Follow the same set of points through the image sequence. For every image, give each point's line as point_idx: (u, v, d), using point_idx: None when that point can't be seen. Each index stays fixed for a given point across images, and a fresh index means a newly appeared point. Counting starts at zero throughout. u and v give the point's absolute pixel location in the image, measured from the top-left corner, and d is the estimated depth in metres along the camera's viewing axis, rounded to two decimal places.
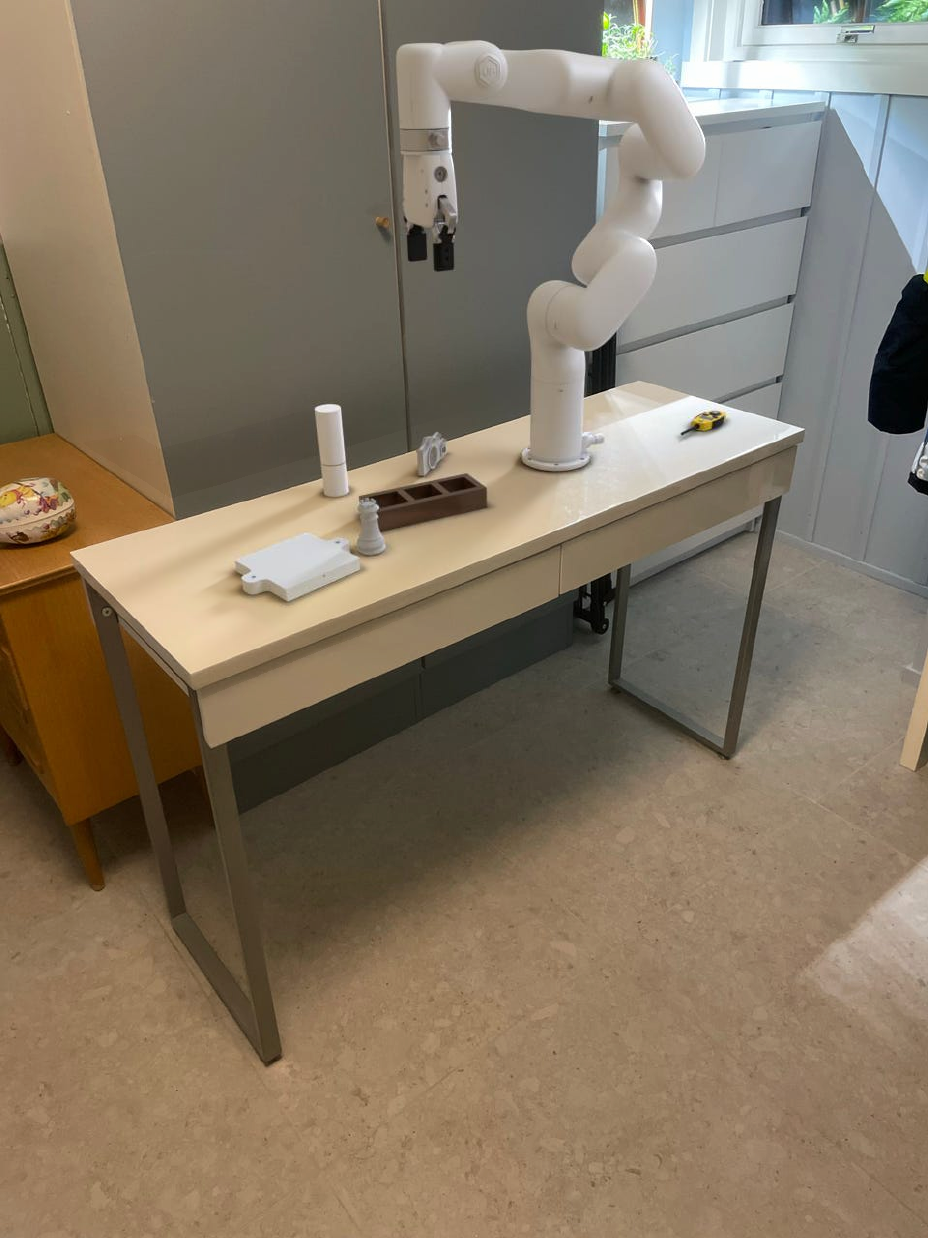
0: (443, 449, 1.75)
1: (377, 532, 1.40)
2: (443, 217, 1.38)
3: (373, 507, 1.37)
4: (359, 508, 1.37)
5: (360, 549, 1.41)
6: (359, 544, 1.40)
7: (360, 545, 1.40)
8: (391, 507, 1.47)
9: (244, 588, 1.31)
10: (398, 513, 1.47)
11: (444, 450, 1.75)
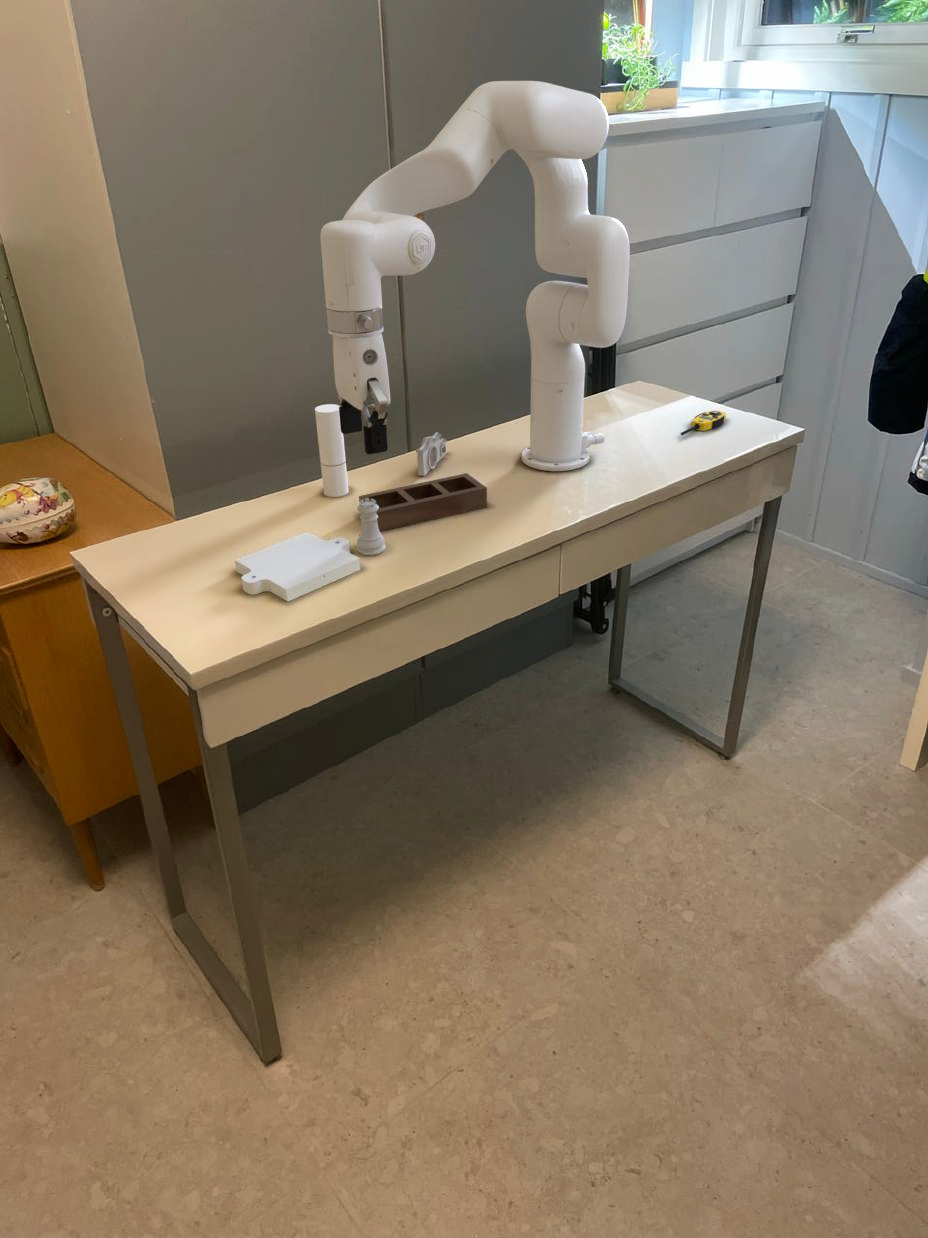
0: (443, 449, 1.75)
1: (377, 532, 1.40)
2: None
3: (373, 507, 1.37)
4: (359, 508, 1.37)
5: (360, 549, 1.41)
6: (359, 544, 1.40)
7: (360, 545, 1.40)
8: (391, 507, 1.47)
9: (244, 588, 1.31)
10: (398, 513, 1.47)
11: (444, 450, 1.75)
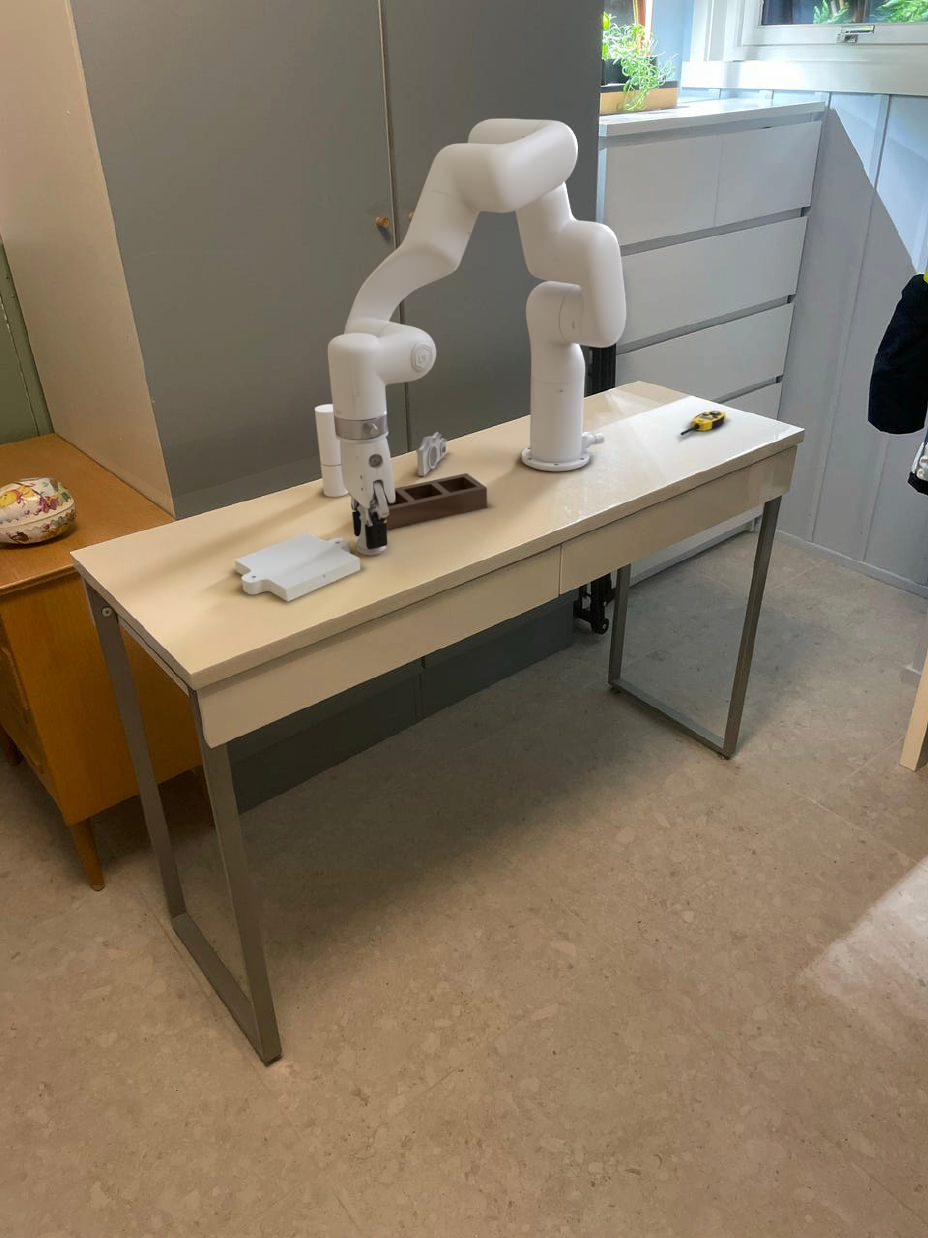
0: (443, 449, 1.75)
1: None
2: None
3: None
4: (359, 508, 1.37)
5: (360, 549, 1.41)
6: (359, 544, 1.40)
7: (360, 545, 1.40)
8: (391, 507, 1.47)
9: (244, 588, 1.31)
10: (398, 513, 1.47)
11: (444, 450, 1.75)
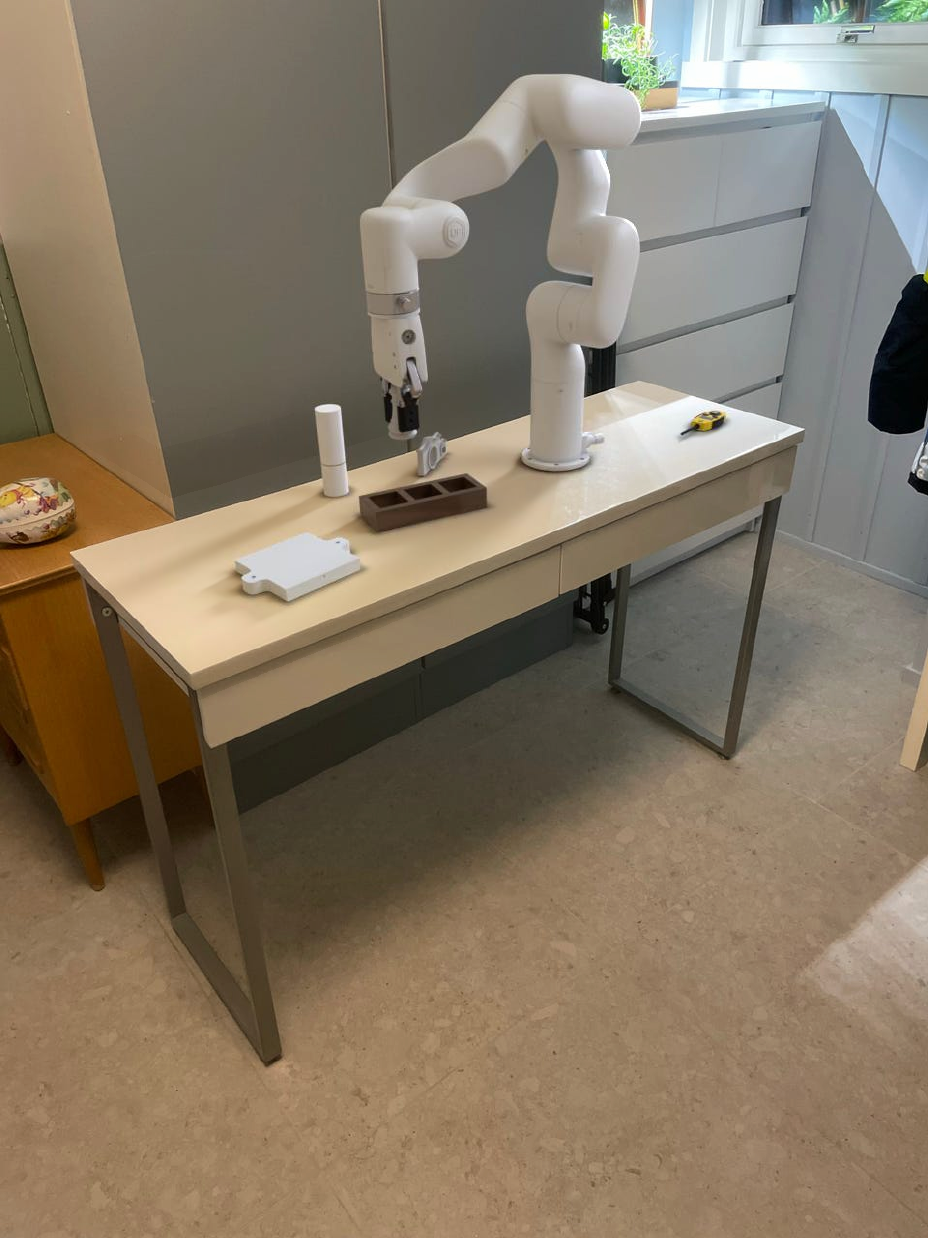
0: (443, 449, 1.75)
1: None
2: None
3: (405, 389, 1.37)
4: (391, 390, 1.38)
5: (392, 434, 1.41)
6: (391, 428, 1.40)
7: (392, 429, 1.40)
8: (391, 507, 1.47)
9: (244, 588, 1.31)
10: (398, 513, 1.47)
11: (444, 450, 1.75)
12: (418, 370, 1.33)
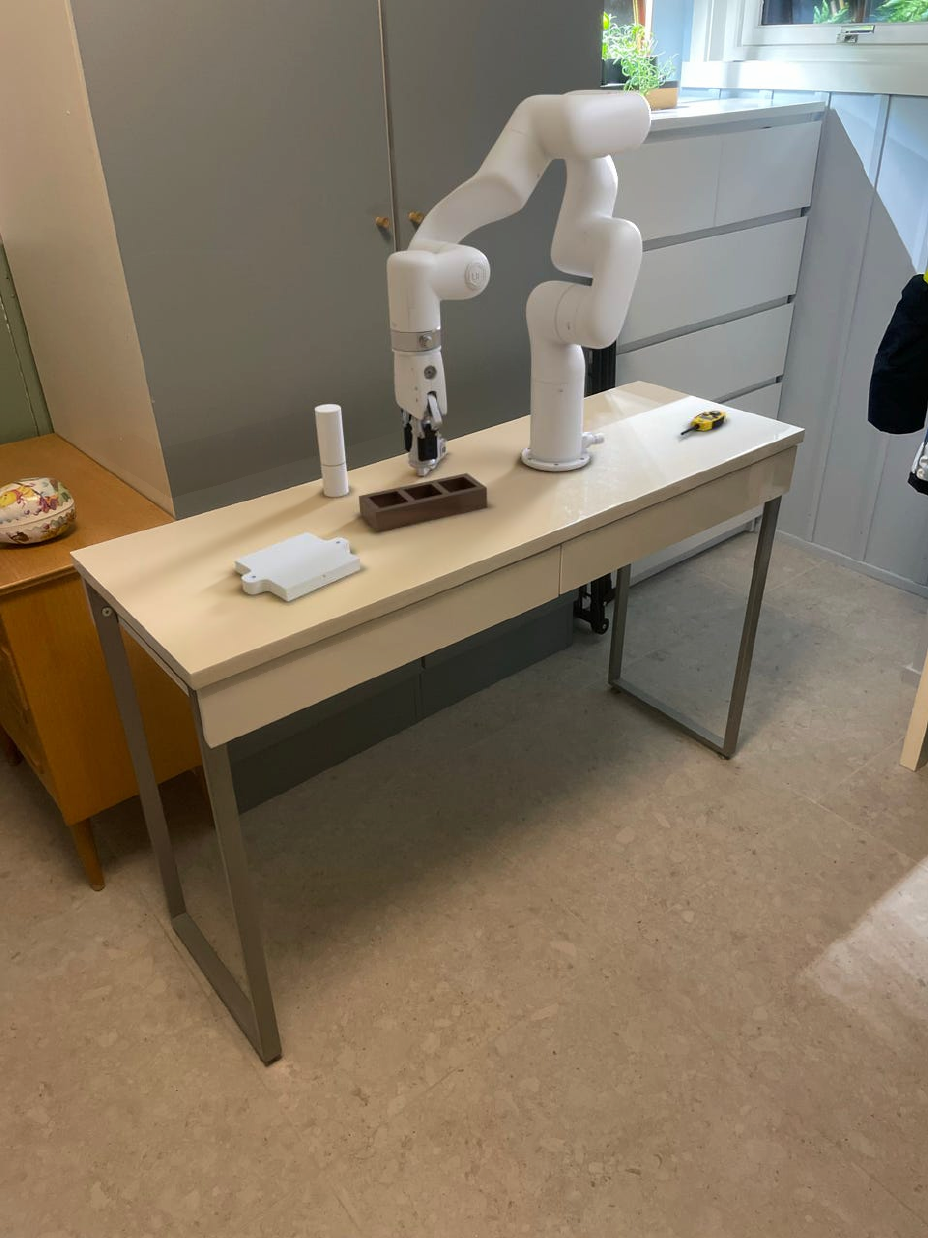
0: (443, 449, 1.75)
1: None
2: None
3: None
4: (411, 422, 1.45)
5: (411, 462, 1.48)
6: (410, 457, 1.47)
7: (411, 458, 1.47)
8: (391, 507, 1.47)
9: (244, 587, 1.31)
10: (398, 513, 1.47)
11: (444, 450, 1.75)
12: (438, 403, 1.40)
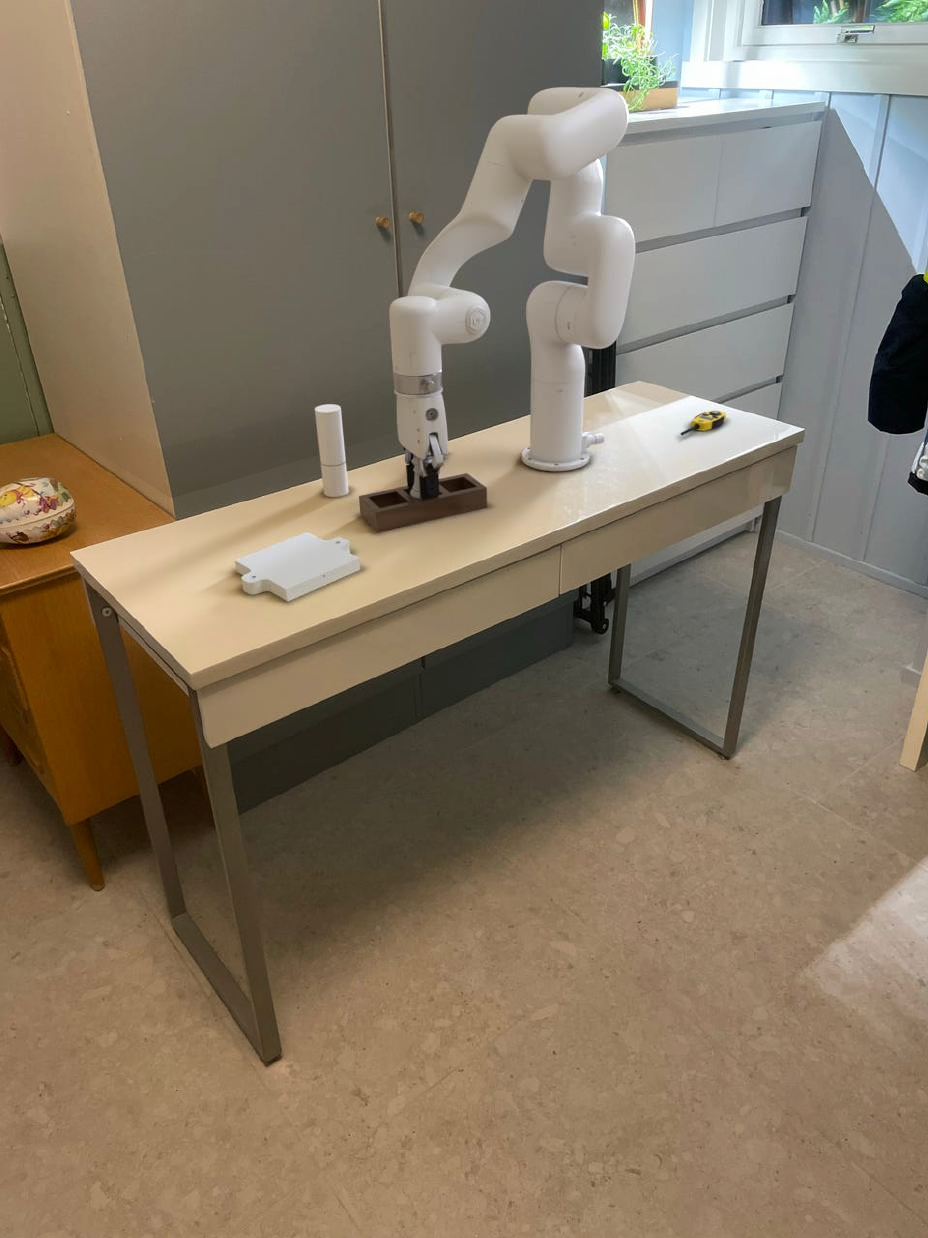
0: None
1: None
2: None
3: None
4: (413, 460, 1.48)
5: None
6: (412, 495, 1.51)
7: (413, 495, 1.51)
8: (391, 507, 1.47)
9: (244, 588, 1.31)
10: (398, 513, 1.47)
11: None
12: (440, 444, 1.43)
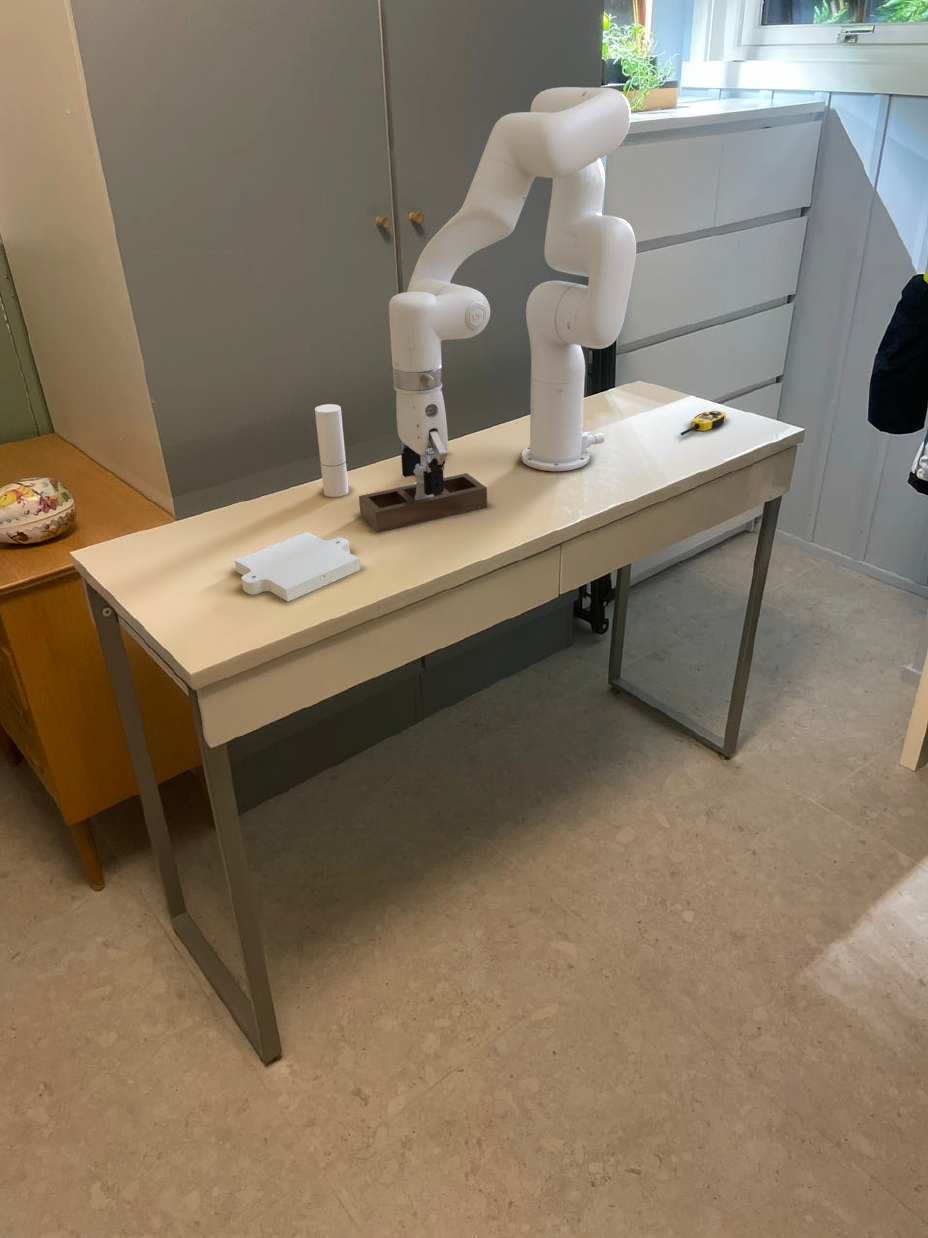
0: None
1: None
2: None
3: None
4: (415, 471, 1.49)
5: None
6: None
7: None
8: (391, 507, 1.47)
9: (244, 588, 1.31)
10: (398, 513, 1.47)
11: None
12: None
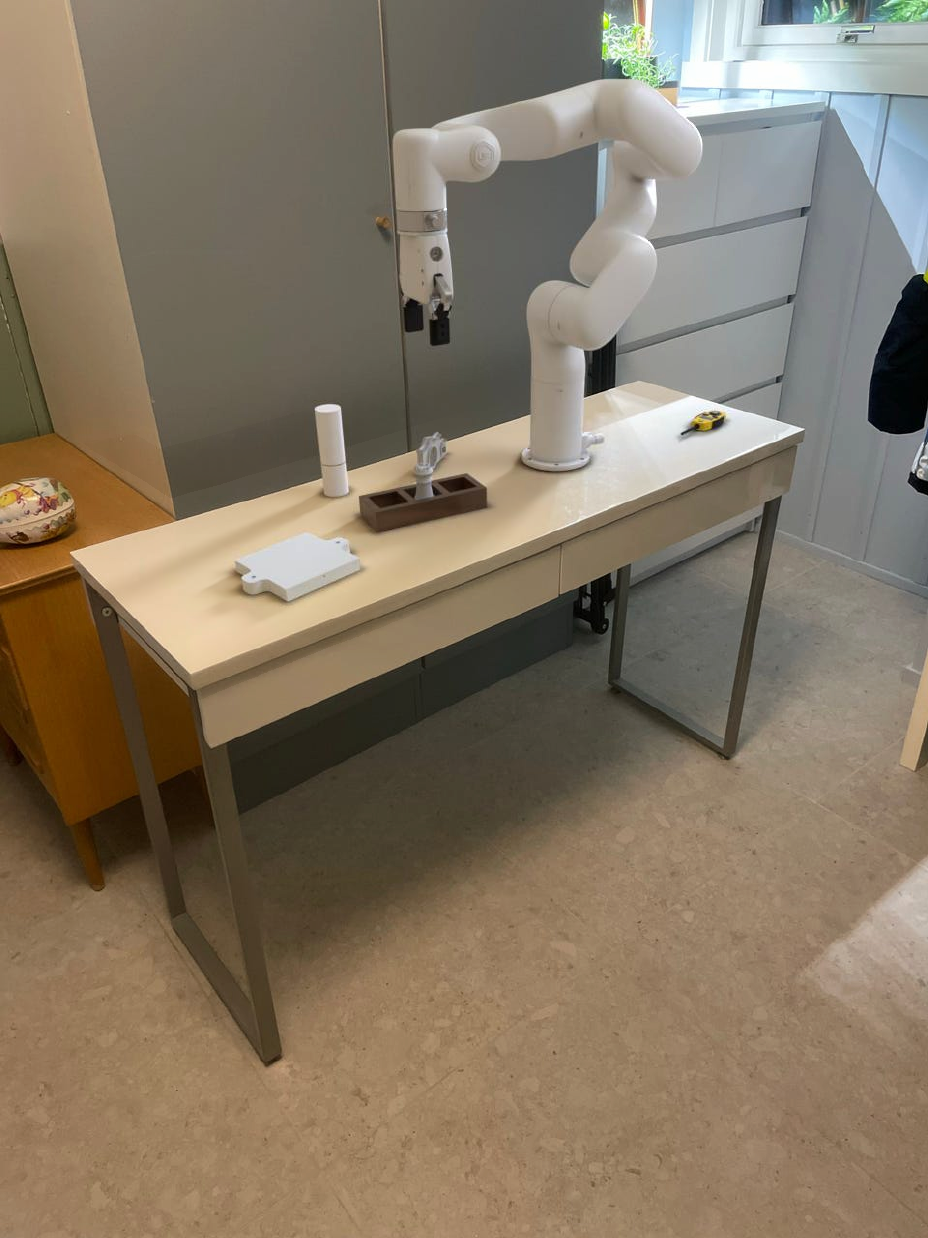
0: (443, 449, 1.75)
1: (431, 494, 1.52)
2: (439, 293, 1.41)
3: (428, 470, 1.49)
4: (415, 471, 1.49)
5: None
6: None
7: None
8: (391, 507, 1.47)
9: (244, 588, 1.31)
10: (398, 513, 1.47)
11: (444, 450, 1.75)
12: None
